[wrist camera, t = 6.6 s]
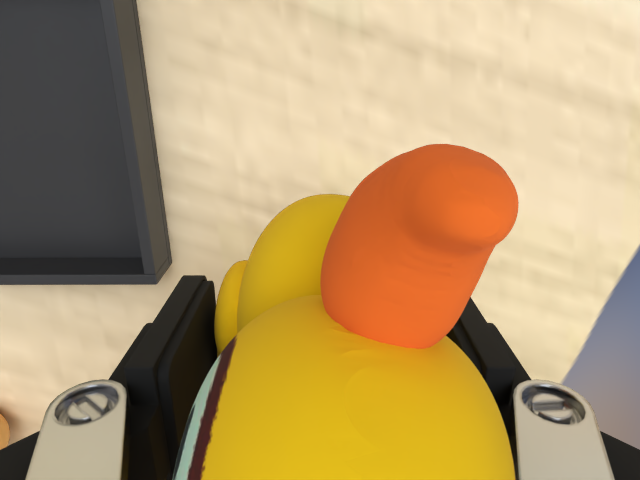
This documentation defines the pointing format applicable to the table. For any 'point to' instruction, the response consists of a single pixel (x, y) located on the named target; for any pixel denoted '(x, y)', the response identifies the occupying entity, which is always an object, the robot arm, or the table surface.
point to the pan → (77, 147)
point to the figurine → (4, 432)
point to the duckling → (359, 335)
